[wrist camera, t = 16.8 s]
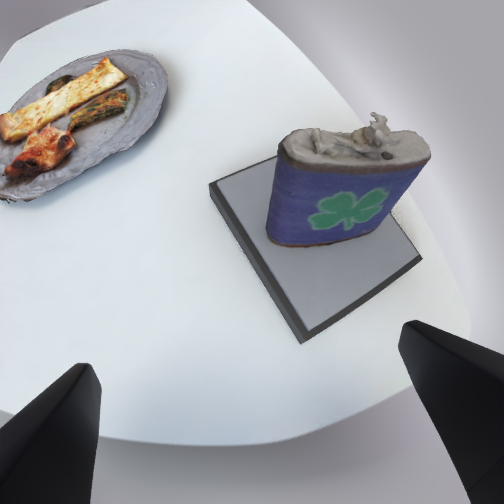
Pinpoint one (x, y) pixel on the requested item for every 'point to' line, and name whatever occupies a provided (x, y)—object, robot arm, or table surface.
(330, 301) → the scale
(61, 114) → the food plate
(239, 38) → the table surface
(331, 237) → the flask
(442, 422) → the robot arm
